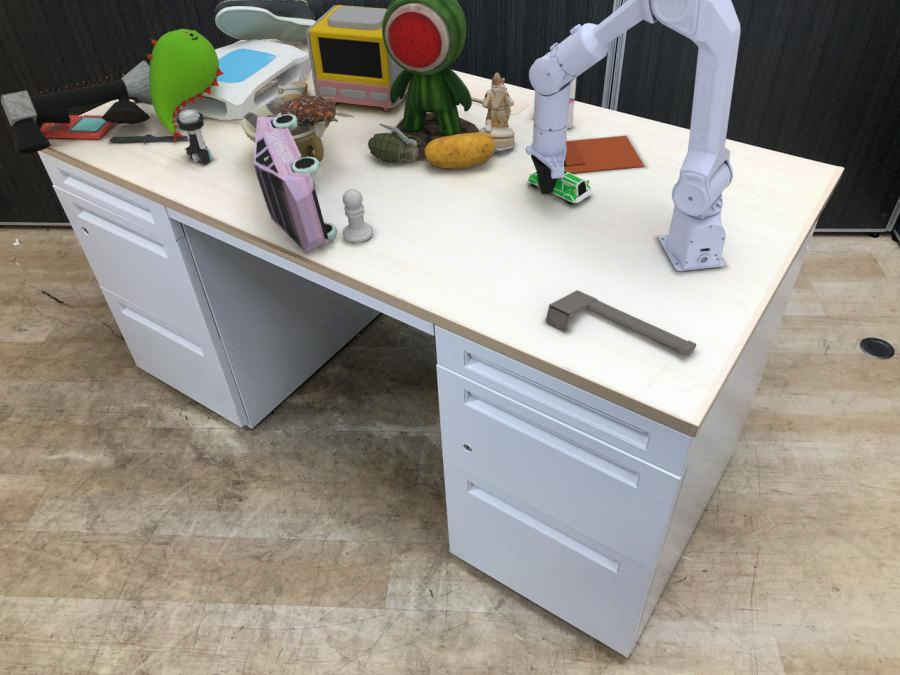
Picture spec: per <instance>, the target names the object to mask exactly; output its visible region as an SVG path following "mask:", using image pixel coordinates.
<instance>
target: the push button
mask: <svg viewBox="0 0 900 675" xmlns="http://www.w3.org/2000/svg"><path fill="white" fill-rule="evenodd" d="M204 120H205V117H204V116H203V114H201V113H198V111H196V110H192V109H190V110H185V111H182V110H181V112H179V113H178V117H175V121H176V122H175V124H176V126H178V128H179V130H180V131H182V132H185V133H186V136H187V137H188V146H187V147H185V148H183V150H184V151H186V152H185V153H184V154H185V155H187V156H188V157H189V158H190V160H192V161H193V162H194V163H201V164H202V165H203V166H205V165H207V164H208V163H210V162H212V161H213V157H212V153H211V149H210V148H208V146H207V145H206V141H205V140H204V137H203V133H202V128H203V127H204V126H205V121H204Z"/></svg>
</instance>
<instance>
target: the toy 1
mask: <svg viewBox="0 0 900 675" xmlns="http://www.w3.org/2000/svg"><path fill="white" fill-rule="evenodd" d="M147 43H150V44H152V45H153V46H154V47H153V48H152V52H151V54H148V53H144V54H143V58H145V59H148V60H149V66H150V70H149V84H150V93H151V98H152V103H153V105H152V106H153V109H154V113H155V114H156V116H157V118H158V120H159V121H160V123H161V124H162V125H163V126H164V127H165V129H166V130H168V131H169V132H170V133H172V134H173V136H174V140H173V142H174V143H175V144H176V143H177V140H176V139H177V137H178V136H184V134H182V133H180V132H179V131H177V129H178V128H179V125H175V124H176V119H174V118H177V117H178V116H179V114H177V113H178V112H179V113H181V112H182V110H180V106H181V105H182V106H184V107H187V105H186V102H187V101H189V102H191V103H193V104H194V99H195V97H197V98H200V99H202V94H203V93H207V94H210V95H211V87H212V86H219V84H218V82H217V77H218V76H220V75H223V74H224V73H223V72H222V71H221V70H220V69H219V61H218V57H217V54H216V52H215V49H216V48H214V46H213V45H212V43H211V42H210V41H209V40H208V39H207V38H206V37H205V36H204V35H202V34H200V33H199V32H198V31H197V30H195V29H193V30H192V29H187V28H179V29H175V30H172V31H168V32H166V33H164V34H163V35H162V36H160V37H159V39H158V40H156V39H153V38H151V37H148V38H147ZM176 112H177V113H176Z"/></svg>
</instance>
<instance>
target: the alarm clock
mask: <svg viewBox="0 0 900 675" xmlns="http://www.w3.org/2000/svg"><path fill="white" fill-rule="evenodd" d="M386 11H387V8H382V7H381V8H380V7H368V6H356V5H343V4H335V5H333V6H331V7H330V8H329V9H328V10H327V11H326V12H325V13H324V14H323V15H322V16H320V17H319V18H317V21H316V22H315V23H314V24H313V25H312V26H311V27H309V28H308V29H307V31H306V38H307V42H306V44H307V51H308V54H309V57H310V63H311V70H310V71H311V76H312V81H313V88H314V93H315V94H314V95H315V96H316V97H319V96H322V97H327V96H331V97H336V98H332V99H326V101H327V102H331V105H333V106H336V105H337V103H343V104H351V105H361V106H370V107H377V108H378V107H379V108H383V110H384V111H386V112H387V111H389V109H392V108H395V107H397V106H398V105H399V104H400V103H401V101H402V100H401V99H400V96H399V98H398V99H397V101H396V102H395V103H392V102H391V100H390V90H391V87H392V85H393V83H394V81H395V80H396V78H397V77H398V75H399V74H400V73H401V72H402V71H403V70H404V69H403V68H401V67H400V66H399V65H398V64H397V63H396V62H395V61H394V60H393V59H392V58H391V56H390V55H389V53H388V51H387V49H386V47H385V44H384V41H383V36H382V23H383V18H384V15H385V13H386ZM409 84H410V82H409ZM409 84H408V86H407V88H406V91H405V94H404V97H405V95H407V93H408V88H409Z"/></svg>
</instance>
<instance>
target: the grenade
mask: <svg viewBox="0 0 900 675" xmlns="http://www.w3.org/2000/svg"><path fill="white" fill-rule="evenodd" d="M378 125H379V126H380V127H383V128H385V129H388V130H389V131H391V132H379V133H375V134H374V135H373V136H372V137H370V139H368V142H367V147H368V150H369V153H370V155H372V156H373V157H374V158H376V159H377V160H379V161H380V162H383V163H389V164H397V163H401V162H402V161H403V160H405V159H406V160H408V161H411V162H416V161H417V160H416V159H417V156H418V148H417V145H418V144H420V143H421V140H420V139H419V138H418V137H416V136H414V135H408V136H407V137H406V136H405V135H404V134H403V133H402V132H401V131H400V130H399V129H398V128H396V126H391V125H388V124H384V123H381V122H380V123H379V124H378ZM392 131H394V132H396V133H397V134H398V136H397V135H394V134H391V133H392ZM409 136H413V137H416V138H418V139H419V141H420V143H417V142H416V141H415V140H413V139H408V137H409ZM406 143H407V144H408V145H407V144H406Z"/></svg>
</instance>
